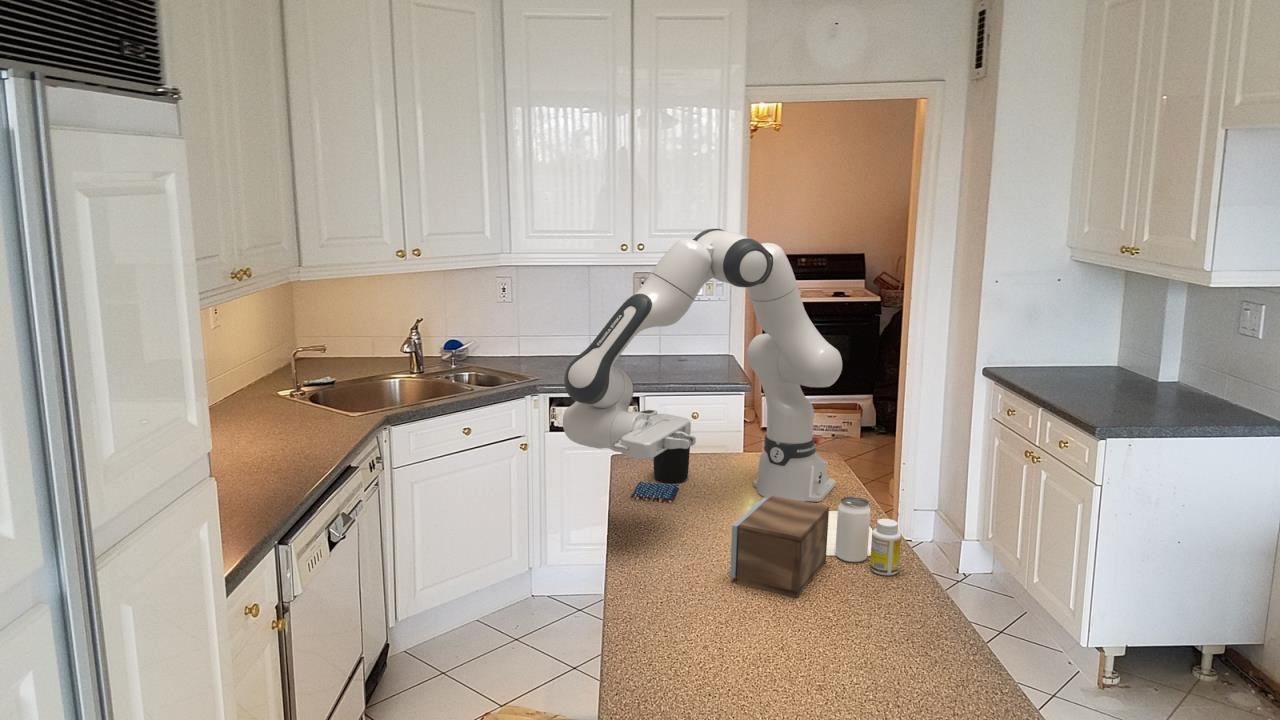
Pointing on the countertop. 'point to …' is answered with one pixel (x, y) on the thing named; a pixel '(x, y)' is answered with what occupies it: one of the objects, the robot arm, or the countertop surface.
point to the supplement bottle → (885, 547)
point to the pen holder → (672, 466)
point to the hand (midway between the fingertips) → (692, 442)
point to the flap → (736, 538)
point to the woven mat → (655, 492)
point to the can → (852, 529)
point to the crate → (782, 545)
